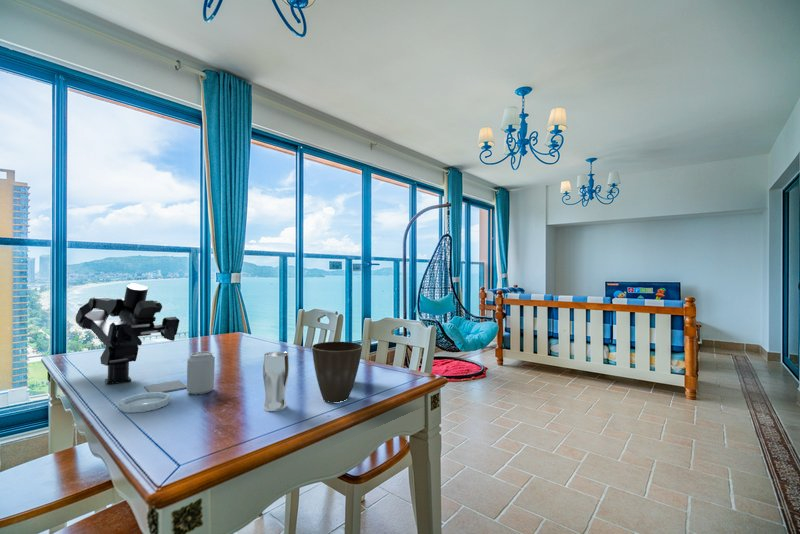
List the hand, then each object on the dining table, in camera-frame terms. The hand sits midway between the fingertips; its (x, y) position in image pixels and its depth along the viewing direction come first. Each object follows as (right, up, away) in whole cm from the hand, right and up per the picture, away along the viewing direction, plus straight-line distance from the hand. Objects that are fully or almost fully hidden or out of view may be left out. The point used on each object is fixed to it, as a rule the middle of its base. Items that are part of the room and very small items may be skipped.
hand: (158, 341), depth 113 cm
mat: (-2, -16, +7) cm, 18 cm away
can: (+10, -17, +4) cm, 20 cm away
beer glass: (+38, -17, -8) cm, 42 cm away
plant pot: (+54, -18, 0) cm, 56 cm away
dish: (+2, -16, -8) cm, 18 cm away
